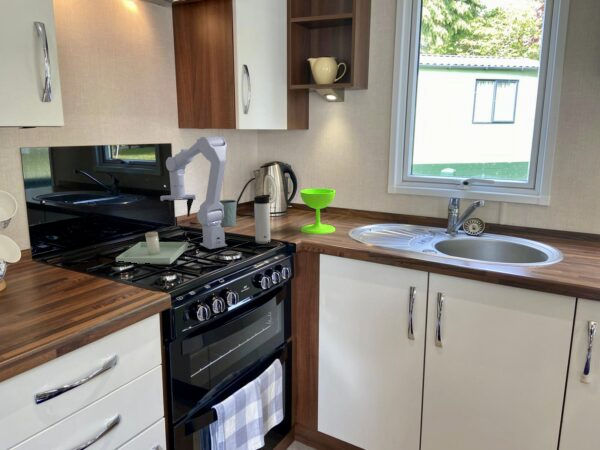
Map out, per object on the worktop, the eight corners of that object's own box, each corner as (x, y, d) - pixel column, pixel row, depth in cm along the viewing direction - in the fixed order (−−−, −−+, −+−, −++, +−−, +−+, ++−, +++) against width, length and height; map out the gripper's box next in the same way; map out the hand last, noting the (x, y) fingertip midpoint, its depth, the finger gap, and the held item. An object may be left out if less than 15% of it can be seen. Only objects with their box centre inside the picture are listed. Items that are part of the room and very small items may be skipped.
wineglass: (341, 232, 215) (341, 192, 211) (308, 235, 210) (308, 195, 206) (326, 224, 230) (326, 187, 226) (295, 227, 224) (294, 189, 220)
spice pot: (161, 253, 182) (158, 233, 180) (149, 256, 180) (146, 235, 178) (159, 250, 186) (156, 230, 184) (147, 253, 184) (144, 233, 182)
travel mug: (269, 244, 196) (267, 196, 192) (253, 243, 198) (251, 195, 193) (272, 240, 202) (271, 193, 198) (257, 239, 204) (256, 193, 199)
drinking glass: (212, 226, 229) (210, 202, 226) (224, 222, 237) (223, 198, 235) (229, 228, 224) (228, 203, 221) (241, 224, 233) (240, 200, 230)
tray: (140, 247, 194) (139, 242, 194) (188, 247, 193) (188, 242, 192) (116, 263, 173) (115, 257, 172) (170, 264, 171) (169, 258, 171)
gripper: (195, 183, 208) (197, 214, 211) (161, 184, 207) (163, 215, 210) (194, 185, 201) (196, 217, 204) (158, 186, 200) (161, 218, 203)
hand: (179, 216), depth 207 cm, fingers open, 7 cm apart
